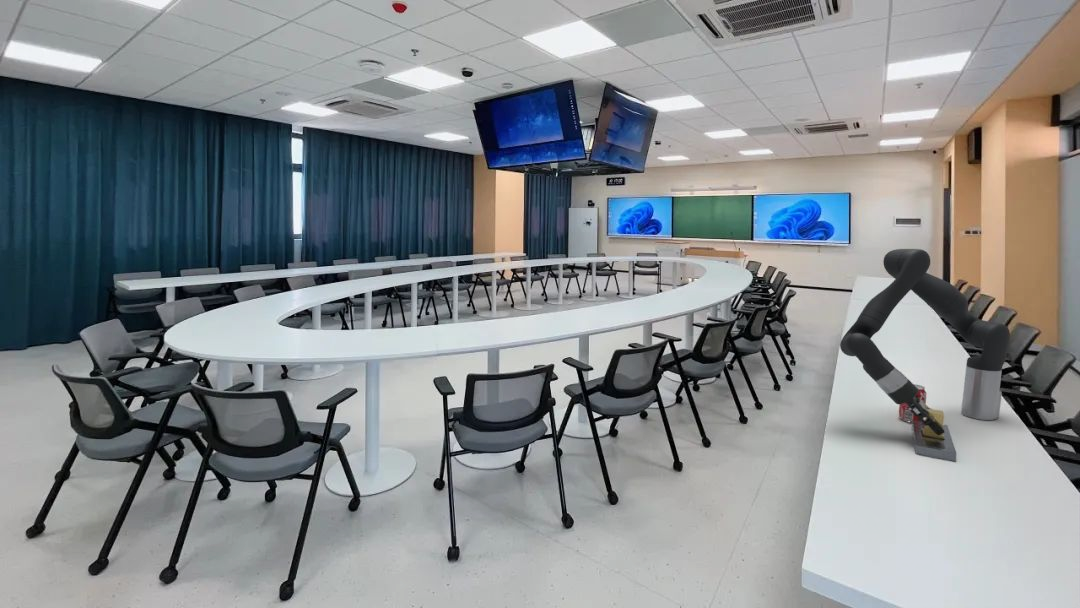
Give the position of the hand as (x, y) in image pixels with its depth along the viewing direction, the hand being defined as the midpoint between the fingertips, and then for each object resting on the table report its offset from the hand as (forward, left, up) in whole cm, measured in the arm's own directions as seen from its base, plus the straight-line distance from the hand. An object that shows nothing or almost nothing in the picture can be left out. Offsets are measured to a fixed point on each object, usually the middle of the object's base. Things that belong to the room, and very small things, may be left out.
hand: (940, 429), depth 152 cm
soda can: (-7, -19, -5) cm, 21 cm away
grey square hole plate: (+1, -1, -5) cm, 5 cm away
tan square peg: (+1, -1, -5) cm, 5 cm away
